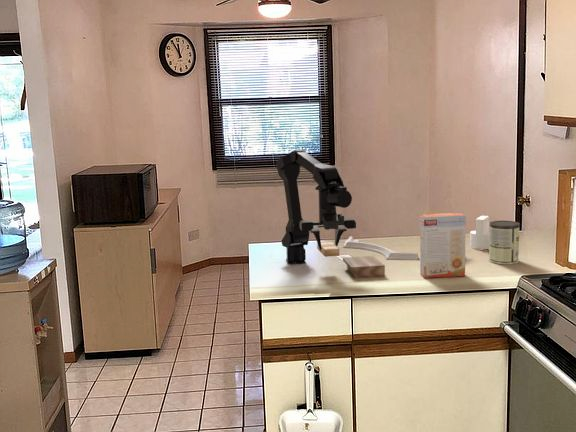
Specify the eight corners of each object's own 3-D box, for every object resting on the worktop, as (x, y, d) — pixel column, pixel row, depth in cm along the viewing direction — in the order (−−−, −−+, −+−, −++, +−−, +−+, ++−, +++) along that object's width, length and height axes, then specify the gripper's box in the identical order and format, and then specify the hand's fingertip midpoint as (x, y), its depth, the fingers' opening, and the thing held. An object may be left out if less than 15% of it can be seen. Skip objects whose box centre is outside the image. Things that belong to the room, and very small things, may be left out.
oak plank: (317, 248, 217) (317, 242, 216) (331, 247, 217) (331, 241, 217) (324, 256, 205) (324, 249, 205) (339, 255, 206) (339, 248, 205)
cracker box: (459, 272, 210) (461, 211, 206) (465, 276, 204) (466, 214, 200) (419, 273, 210) (419, 213, 206) (423, 278, 204) (424, 216, 200)
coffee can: (488, 257, 229) (489, 220, 226) (517, 258, 226) (518, 220, 224) (489, 264, 219) (490, 225, 217) (519, 265, 216) (521, 226, 214)
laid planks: (351, 278, 206) (351, 267, 206) (342, 267, 220) (342, 257, 219) (384, 276, 208) (384, 265, 207) (374, 266, 221) (374, 255, 221)
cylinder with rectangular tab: (490, 250, 239) (491, 220, 237) (467, 248, 244) (467, 218, 242) (495, 245, 247) (496, 216, 245) (473, 243, 251) (474, 215, 249)
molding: (425, 260, 230) (425, 252, 230) (401, 265, 224) (401, 257, 223) (353, 241, 265) (353, 235, 265) (331, 245, 259) (331, 238, 258)
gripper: (303, 209, 199) (304, 255, 202) (359, 206, 201) (360, 252, 204) (298, 204, 210) (299, 248, 213) (352, 201, 212) (352, 245, 215)
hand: (328, 248), depth 211 cm, fingers closed on oak plank, 5 cm apart
